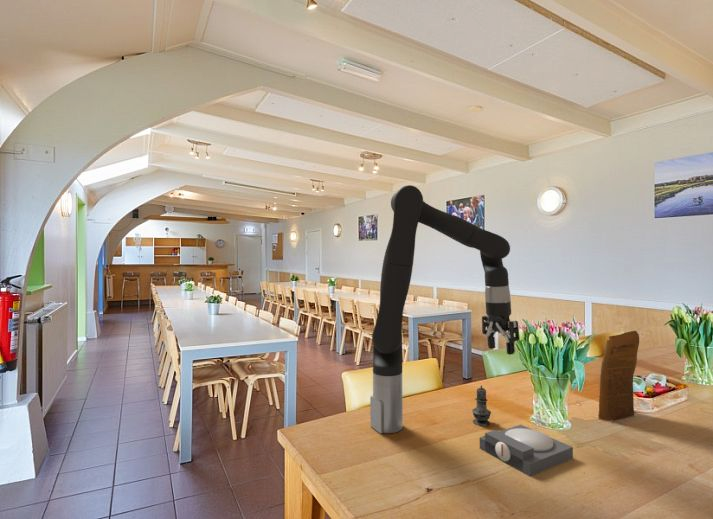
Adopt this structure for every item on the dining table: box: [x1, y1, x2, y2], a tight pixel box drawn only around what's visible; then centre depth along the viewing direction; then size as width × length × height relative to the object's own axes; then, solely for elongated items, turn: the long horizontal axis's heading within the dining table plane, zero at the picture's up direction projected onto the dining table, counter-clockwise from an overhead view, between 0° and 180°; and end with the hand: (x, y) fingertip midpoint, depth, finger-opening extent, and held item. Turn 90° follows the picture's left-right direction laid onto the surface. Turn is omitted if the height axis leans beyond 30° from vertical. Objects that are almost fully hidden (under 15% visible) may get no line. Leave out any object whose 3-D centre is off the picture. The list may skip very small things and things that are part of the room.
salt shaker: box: [471, 384, 492, 427], centre depth 125 cm, size 6×6×12 cm
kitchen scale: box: [479, 424, 574, 477], centre depth 105 cm, size 17×16×5 cm
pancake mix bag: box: [598, 330, 640, 421], centre depth 129 cm, size 7×19×28 cm, turn 112°
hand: (501, 351), depth 123 cm, fingers open, 8 cm apart
